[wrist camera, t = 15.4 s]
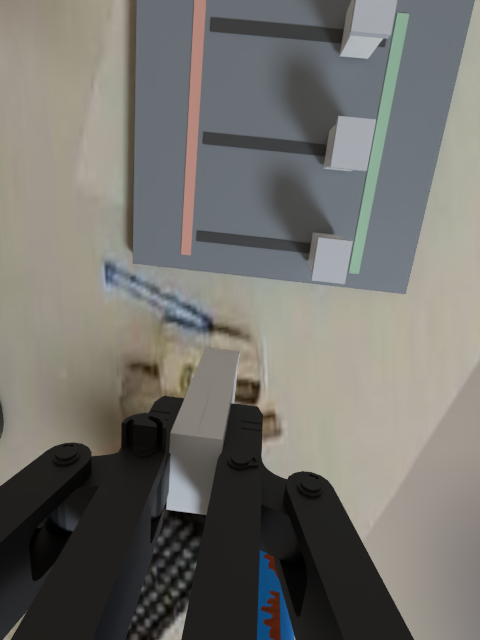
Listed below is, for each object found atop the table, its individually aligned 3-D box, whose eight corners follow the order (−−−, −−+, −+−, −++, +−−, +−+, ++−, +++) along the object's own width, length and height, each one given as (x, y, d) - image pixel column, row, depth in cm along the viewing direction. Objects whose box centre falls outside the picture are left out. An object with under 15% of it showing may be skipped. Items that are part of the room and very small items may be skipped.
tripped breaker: (320, 170, 37) (330, 167, 31) (327, 128, 36) (338, 115, 30) (351, 173, 37) (366, 170, 31) (358, 131, 36) (376, 119, 30)
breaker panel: (138, 260, 44) (132, 263, 42) (144, -20, 36) (136, -32, 34) (399, 289, 42) (405, 294, 40) (464, 8, 35) (475, -4, 33)
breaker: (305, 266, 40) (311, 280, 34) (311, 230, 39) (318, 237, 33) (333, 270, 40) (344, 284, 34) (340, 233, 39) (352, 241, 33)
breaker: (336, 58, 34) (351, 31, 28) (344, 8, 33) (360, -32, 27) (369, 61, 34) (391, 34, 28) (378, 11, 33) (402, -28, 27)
